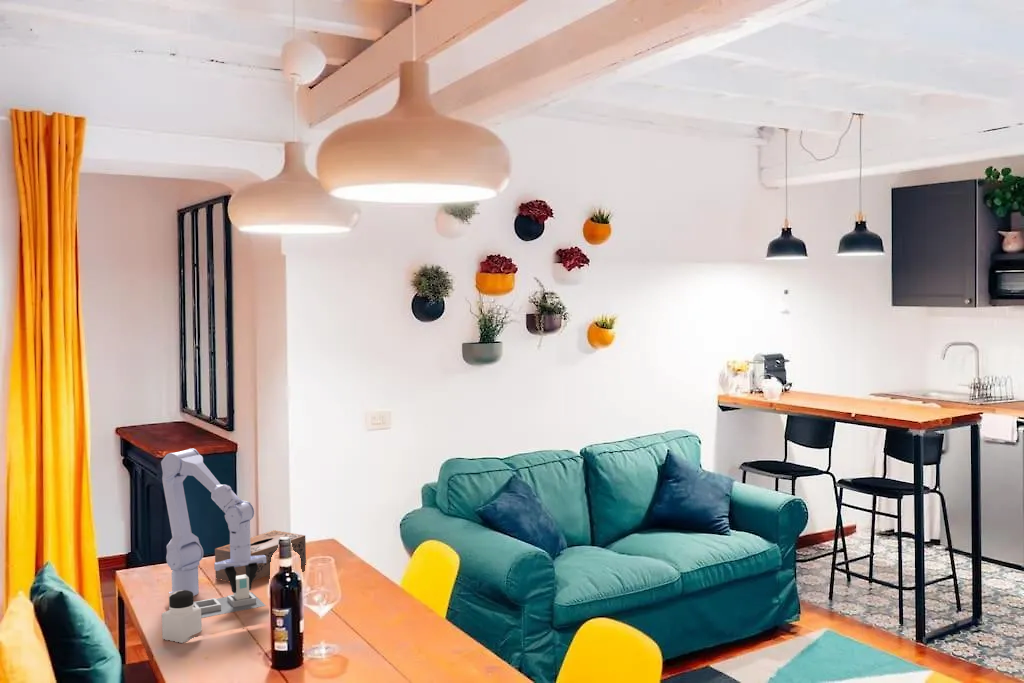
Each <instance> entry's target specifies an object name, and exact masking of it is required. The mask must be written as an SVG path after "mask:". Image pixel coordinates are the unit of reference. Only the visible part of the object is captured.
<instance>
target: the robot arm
mask: <svg viewBox="0 0 1024 683" xmlns="http://www.w3.org/2000/svg"><path fill="white" fill-rule="evenodd" d="M160 465H161V471H162V477H161V480H162V486H163V493H164V498H165V503H166V509H167V515H168V519H169V525H170V531H171V539H170V541H169V542H168V543H167V544H166V557H165V559H166V560H165V561H166V563H167V565H168V567H169V568H170V571H171V591H169V592H168V594H172V593H174V592H176V591H180V590H188V591H191V592H192V593H193V597H194V596H196V595H198V594H199V593H200V592H199V591H200V589H199V588H200V587H199V566H200V561H202V560H203V557H204V549H203V547H202V545H201V542H200V540H199V539H200V538H199V537H198V536H197V535H195V534H194V533H192V527H191V522H190V517H189V512H188V504H187V500H186V494H185V489H184V481H185V480H186V478H187V477H188V476H191V477H194V478H195V479H196V480H197V481H198V482H200V484H202V485H203V486H204V488H206V489H207V490H208V491H209V492H210V493H211V494H210V496H211V497H210V499H211V500H212V501H213V502H214V503H215V504H216V506H218V507H219V509H220V510H222V512H223V513H224V519H225V521H226V523H227V526H228V527H227V528H228V531H229V544H230V559H228V560H224V561H221V562H216V563H215V562H213V563H214V564H213V565H214V570H216V571H219V570H221V569H224V571H225V572H226V574H227V576H228V579H229V581H230V582H229V585H230V587H231V588H230V589H231V592H232V593H236V571H235V569H234V567H239V566H245V568H246V575H247V576H248V577H249V591H251V590H252V584H253V582H254V581H253V578H254V575H255V573H256V571H257V570H258V566H257V564H258V563H266V556H265V555H259V556H251V543H250V538H251V520H252V519H253V518H254V515H255V508H254V506H253V505H252V503H251V502H250V501H247V500H244V499H241V498H240V497H239V496H238V495H237V494H236V493H235V492H234V490H232V487H231V486H230V485H228V484H221V483H220V481H219V480H218V479H217V477H215V475H214V474H213V473H212V472H211V470H210V469H209V468H208V467H207V465H206V464H205V463H204V457H203V455H201V454H200V453H199V451H198V450H197V449H196V448H187V449H185V450H181V451H176V452H169V453H167V454H166V455H165V456H164V457H163V458H162V460H161V461H160Z"/></svg>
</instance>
